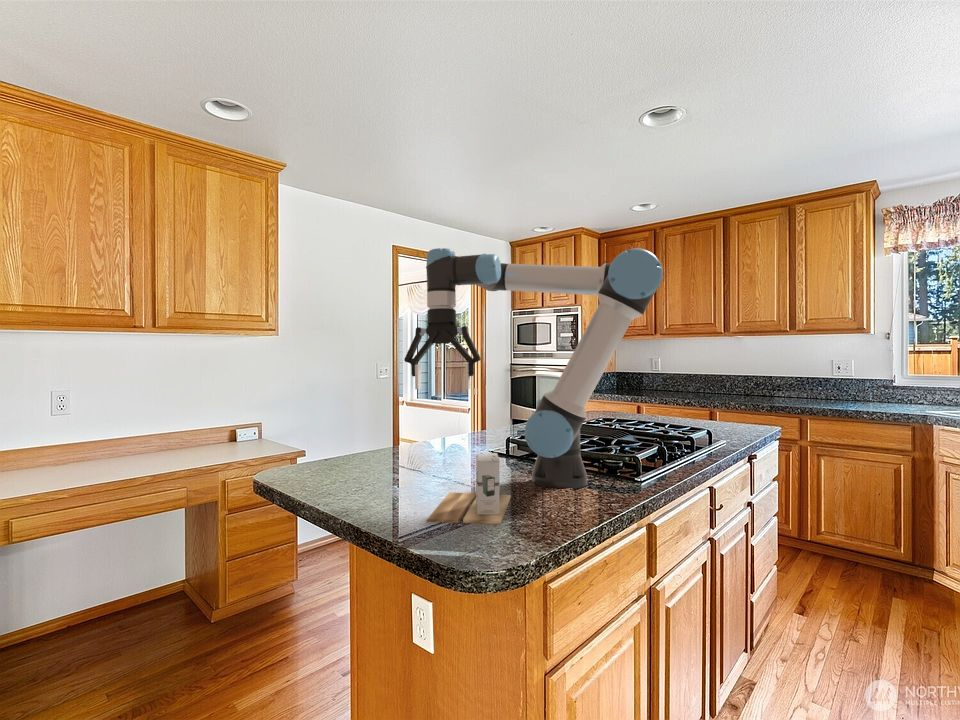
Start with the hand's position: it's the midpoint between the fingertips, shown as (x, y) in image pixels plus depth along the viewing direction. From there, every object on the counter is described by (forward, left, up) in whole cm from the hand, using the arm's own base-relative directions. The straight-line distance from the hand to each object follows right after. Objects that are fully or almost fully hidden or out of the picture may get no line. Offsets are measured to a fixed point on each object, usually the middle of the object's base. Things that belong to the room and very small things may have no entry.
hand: (442, 389), depth 133 cm
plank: (-15, +17, -27) cm, 35 cm away
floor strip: (-7, +17, -27) cm, 32 cm away
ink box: (-15, +19, -26) cm, 35 cm away
